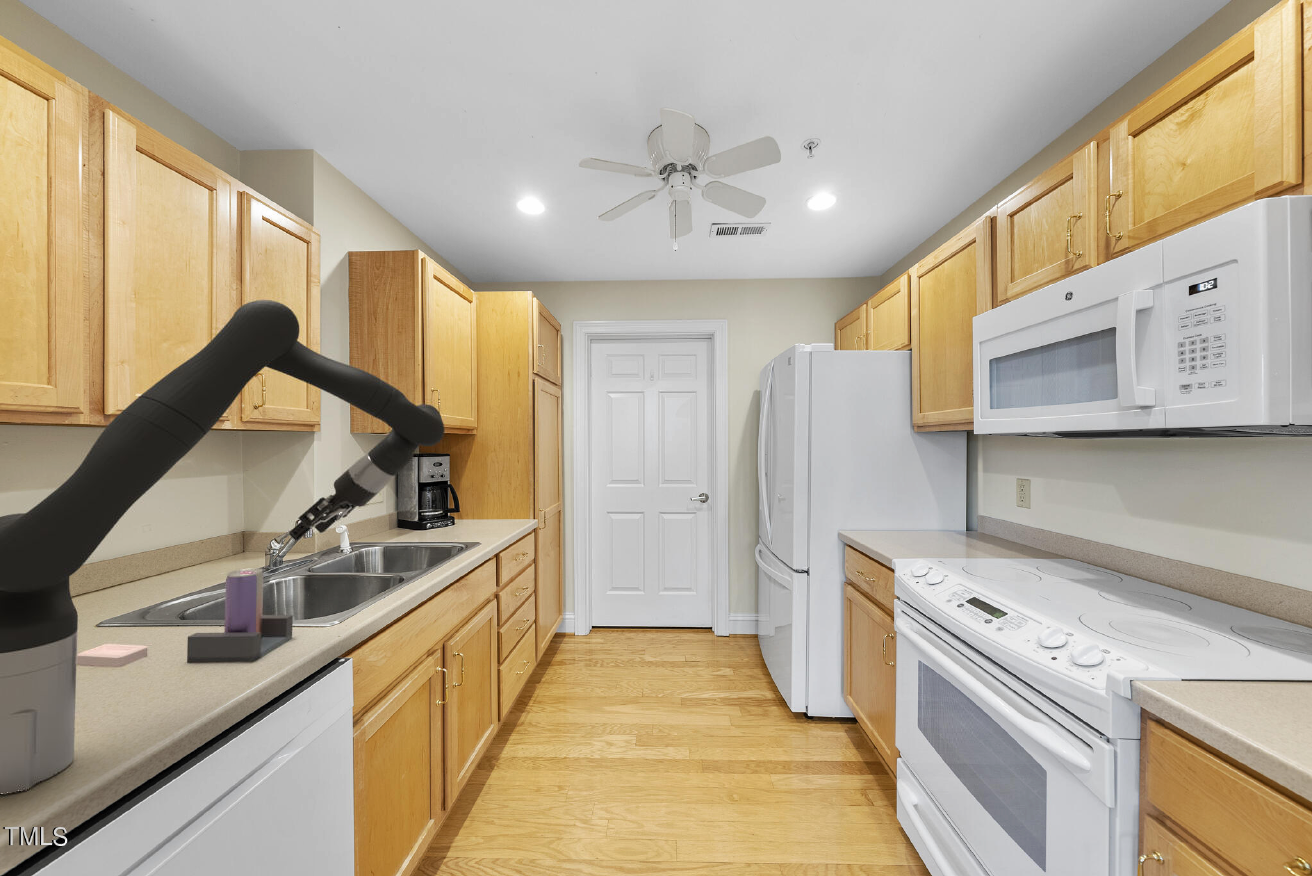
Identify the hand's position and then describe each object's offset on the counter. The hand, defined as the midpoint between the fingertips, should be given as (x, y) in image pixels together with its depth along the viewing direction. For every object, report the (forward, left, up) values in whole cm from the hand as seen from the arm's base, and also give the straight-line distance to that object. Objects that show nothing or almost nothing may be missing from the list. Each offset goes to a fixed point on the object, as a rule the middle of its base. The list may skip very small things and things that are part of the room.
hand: (306, 533), depth 106 cm
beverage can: (+3, +11, -23) cm, 26 cm away
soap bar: (+7, +32, -24) cm, 41 cm away
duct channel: (+4, +11, -24) cm, 27 cm away
